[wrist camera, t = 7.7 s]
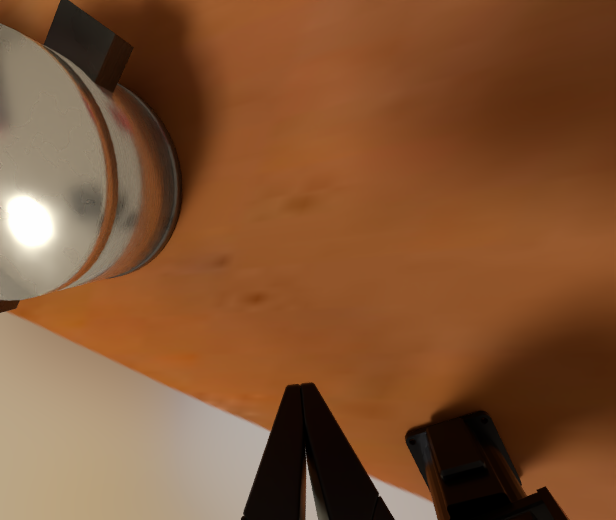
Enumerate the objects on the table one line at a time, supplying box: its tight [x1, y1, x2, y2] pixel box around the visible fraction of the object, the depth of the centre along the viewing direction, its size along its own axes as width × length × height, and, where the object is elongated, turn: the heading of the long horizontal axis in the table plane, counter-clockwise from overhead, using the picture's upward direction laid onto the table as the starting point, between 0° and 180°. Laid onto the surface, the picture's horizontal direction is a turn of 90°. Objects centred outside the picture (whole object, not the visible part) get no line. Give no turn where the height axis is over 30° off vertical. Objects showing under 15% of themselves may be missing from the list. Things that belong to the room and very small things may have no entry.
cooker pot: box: [0, 0, 182, 313], centre depth 21 cm, size 16×22×6 cm
